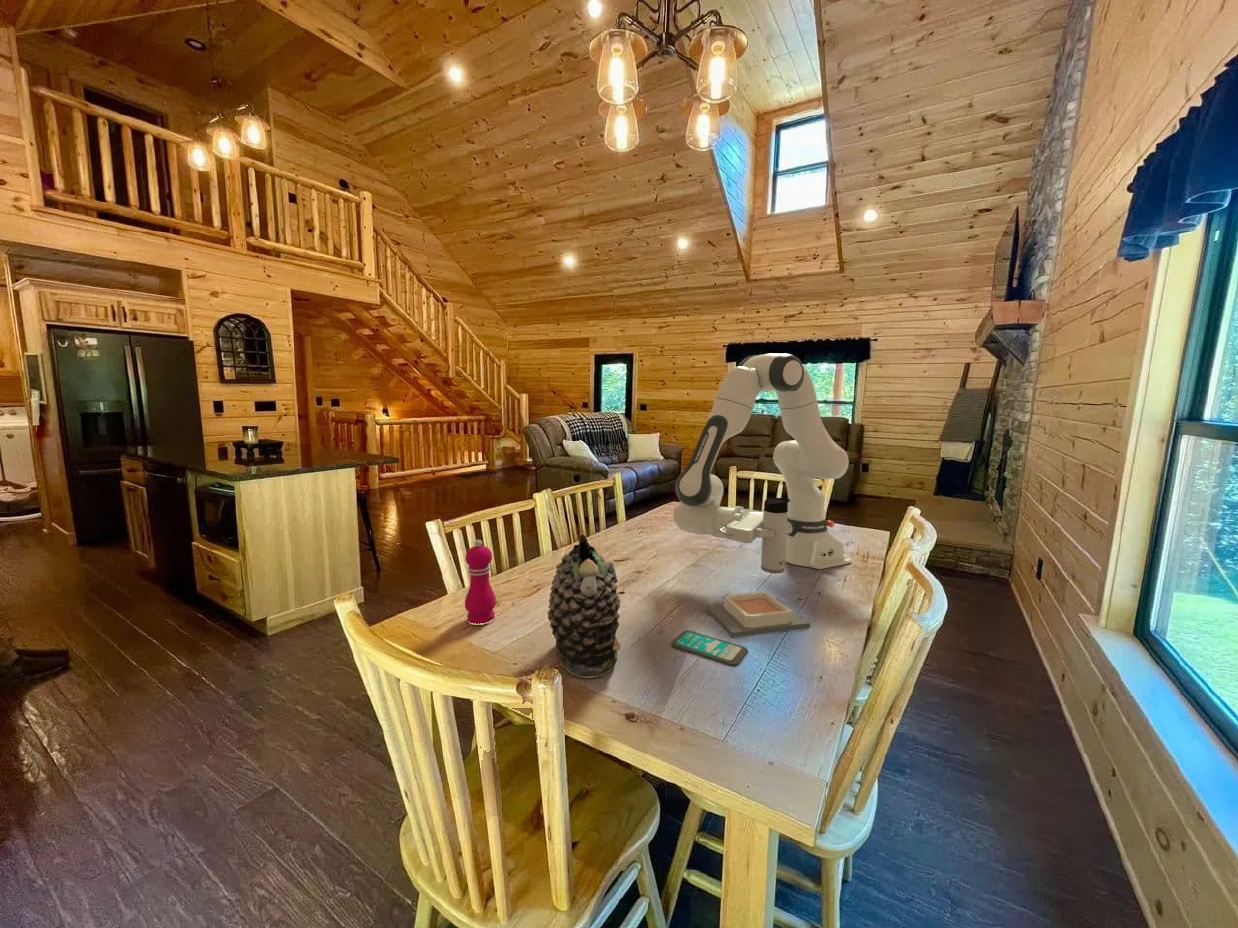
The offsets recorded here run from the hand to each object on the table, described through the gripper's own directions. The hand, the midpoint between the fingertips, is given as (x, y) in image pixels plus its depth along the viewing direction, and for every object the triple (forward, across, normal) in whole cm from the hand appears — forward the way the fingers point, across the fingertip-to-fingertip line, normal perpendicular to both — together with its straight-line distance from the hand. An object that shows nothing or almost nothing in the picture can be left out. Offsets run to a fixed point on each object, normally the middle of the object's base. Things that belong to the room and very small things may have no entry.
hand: (778, 530), depth 133 cm
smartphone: (-5, -37, +18) cm, 42 cm away
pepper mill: (-57, -54, +17) cm, 80 cm away
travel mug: (-1, 0, +12) cm, 12 cm away
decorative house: (-26, -54, +17) cm, 63 cm away
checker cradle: (0, -18, +18) cm, 25 cm away
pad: (0, -18, +16) cm, 25 cm away
